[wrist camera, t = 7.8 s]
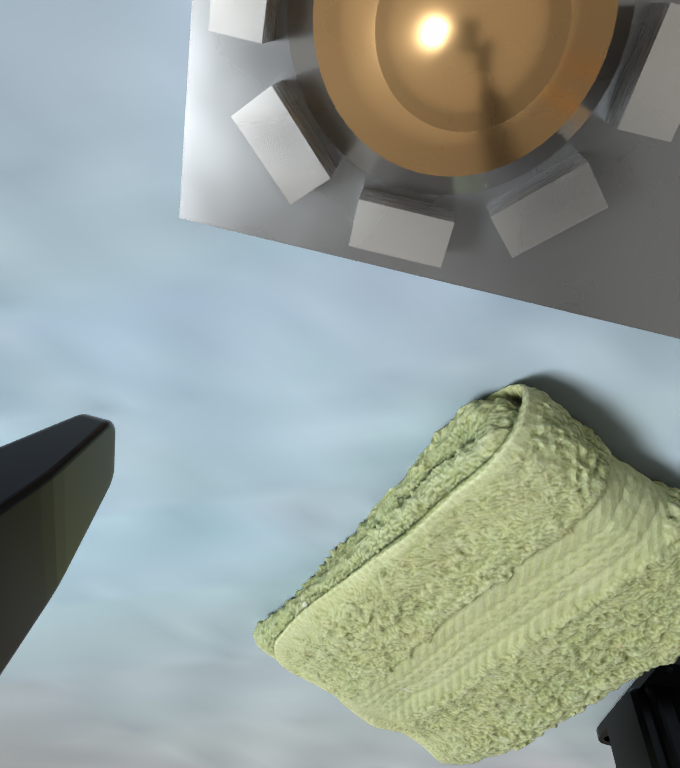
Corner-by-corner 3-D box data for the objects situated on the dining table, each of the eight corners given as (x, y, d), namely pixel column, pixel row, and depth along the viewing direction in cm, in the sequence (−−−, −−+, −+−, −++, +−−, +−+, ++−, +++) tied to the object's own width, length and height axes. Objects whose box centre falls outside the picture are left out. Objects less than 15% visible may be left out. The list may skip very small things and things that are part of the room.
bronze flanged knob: (651, -117, 12) (792, -196, 7) (538, 186, 15) (586, 267, 11) (355, -188, 12) (305, -313, 7) (303, 130, 15) (246, 185, 11)
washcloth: (246, 616, 28) (226, 680, 26) (499, 345, 20) (510, 400, 17) (470, 731, 31) (473, 800, 28) (783, 536, 22) (832, 610, 19)
